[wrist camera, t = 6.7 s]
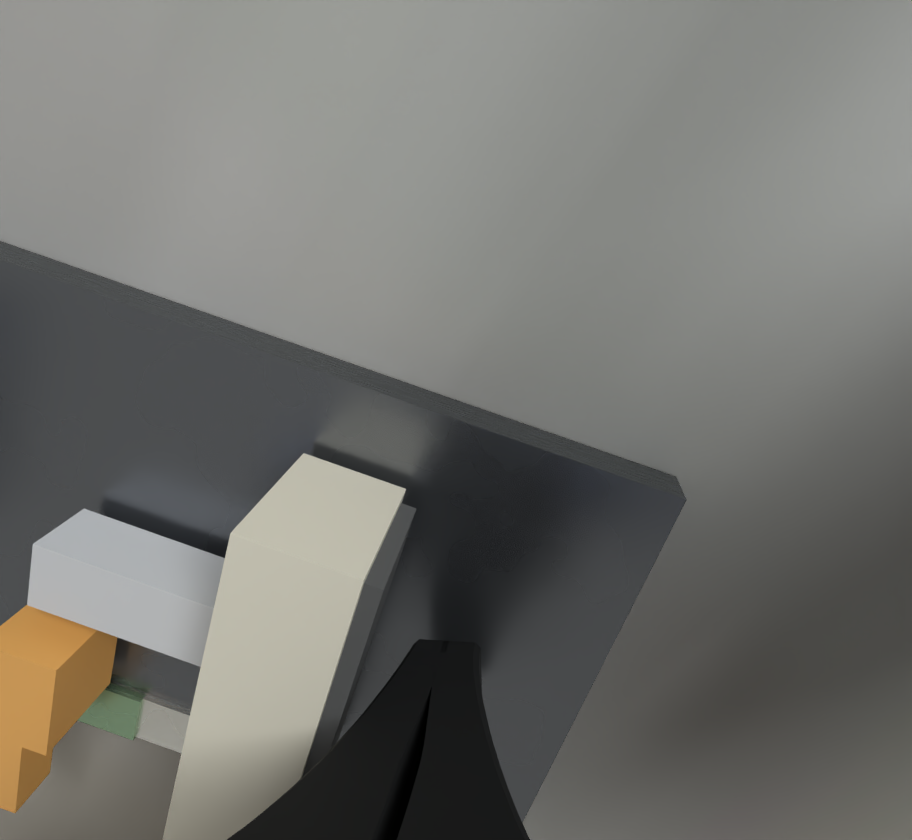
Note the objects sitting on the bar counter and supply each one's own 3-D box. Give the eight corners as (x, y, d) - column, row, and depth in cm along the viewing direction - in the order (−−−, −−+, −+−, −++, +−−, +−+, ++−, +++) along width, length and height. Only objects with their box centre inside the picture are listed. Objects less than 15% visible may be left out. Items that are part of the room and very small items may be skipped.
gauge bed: (676, 476, 13) (753, 644, 8) (505, 822, 16) (489, 1080, 12) (-192, 174, 13) (-614, 164, 8) (-175, 580, 16) (-462, 736, 12)
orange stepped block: (122, 605, 14) (56, 670, 12) (100, 744, 15) (38, 821, 13) (55, 581, 14) (-21, 643, 12) (40, 722, 15) (-31, 797, 13)
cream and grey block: (422, 494, 12) (384, 586, 9) (331, 761, 14) (279, 899, 12) (100, 381, 12) (-35, 439, 9) (64, 666, 15) (-51, 780, 12)
